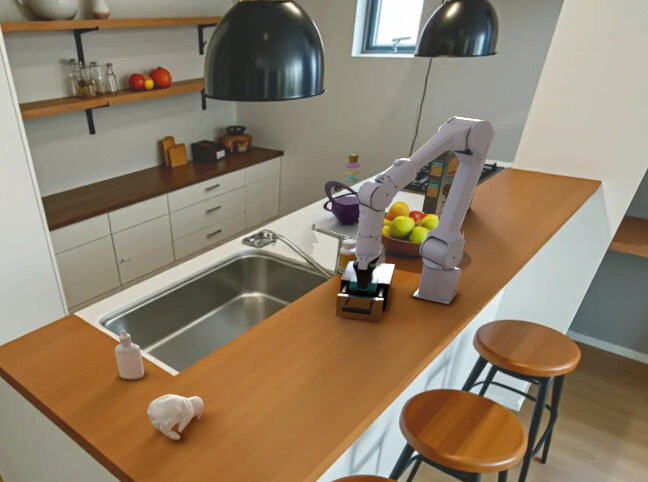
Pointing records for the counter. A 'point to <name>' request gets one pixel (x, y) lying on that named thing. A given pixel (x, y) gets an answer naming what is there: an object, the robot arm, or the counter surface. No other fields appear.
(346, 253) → the supplement bottle
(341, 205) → the decorative bottle
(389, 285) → the cabinet
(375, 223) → the robot arm
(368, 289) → the toy car
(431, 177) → the cake mix box
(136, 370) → the eye dropper bottle
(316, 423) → the counter surface
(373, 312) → the drawer
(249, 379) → the counter surface
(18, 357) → the counter surface
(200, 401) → the white animal figurine
